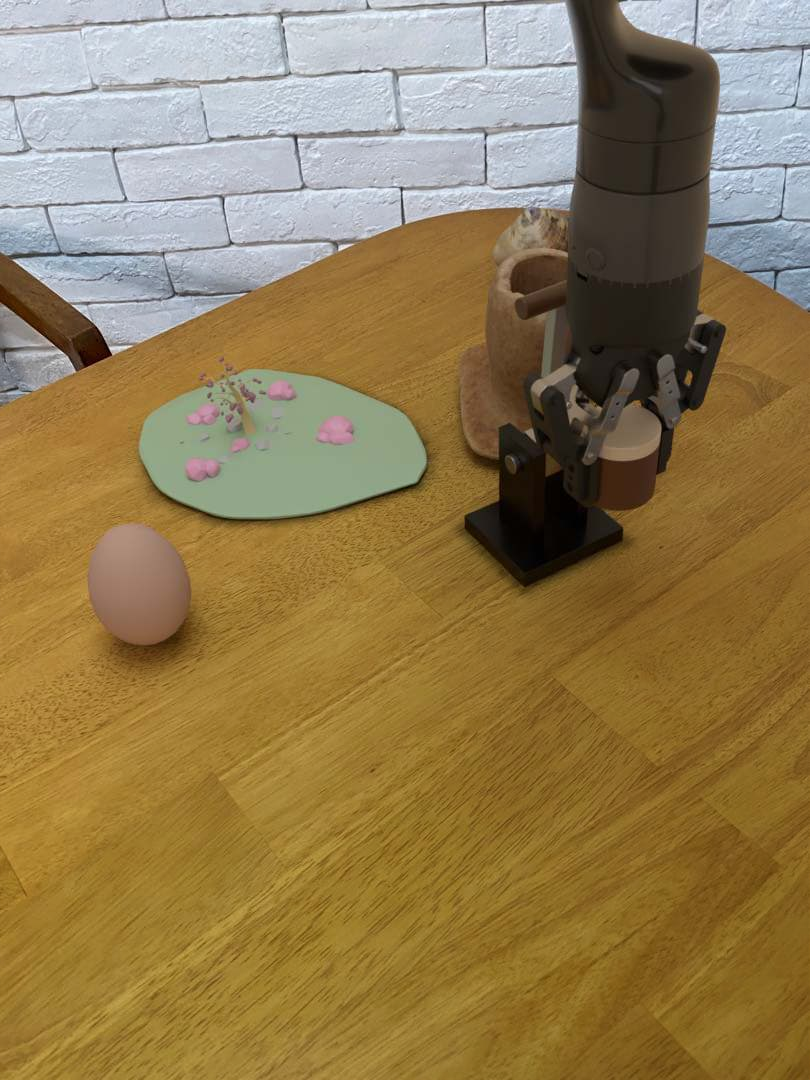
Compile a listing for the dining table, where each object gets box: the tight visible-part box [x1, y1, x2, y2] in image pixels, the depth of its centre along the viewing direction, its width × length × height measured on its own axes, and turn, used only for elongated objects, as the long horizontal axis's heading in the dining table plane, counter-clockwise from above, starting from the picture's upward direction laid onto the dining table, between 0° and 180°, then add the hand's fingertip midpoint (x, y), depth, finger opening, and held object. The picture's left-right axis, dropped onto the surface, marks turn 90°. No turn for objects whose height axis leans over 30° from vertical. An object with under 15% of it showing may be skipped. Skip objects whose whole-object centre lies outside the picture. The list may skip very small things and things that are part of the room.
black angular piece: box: [463, 423, 624, 588], centre depth 83 cm, size 8×9×10 cm
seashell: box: [493, 206, 569, 267], centre depth 113 cm, size 10×6×8 cm, turn 89°
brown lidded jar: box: [581, 403, 661, 512], centre depth 73 cm, size 5×5×5 cm
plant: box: [138, 356, 428, 520], centre depth 94 cm, size 25×21×9 cm
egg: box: [86, 522, 192, 646], centre depth 77 cm, size 7×7×10 cm
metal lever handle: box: [515, 280, 568, 477], centre depth 76 cm, size 15×6×2 cm
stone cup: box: [458, 248, 571, 461], centre depth 93 cm, size 15×12×15 cm
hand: (616, 482), depth 74 cm, fingers closed on brown lidded jar, 5 cm apart
